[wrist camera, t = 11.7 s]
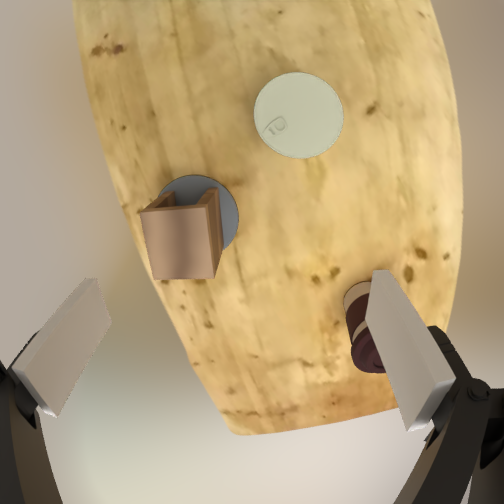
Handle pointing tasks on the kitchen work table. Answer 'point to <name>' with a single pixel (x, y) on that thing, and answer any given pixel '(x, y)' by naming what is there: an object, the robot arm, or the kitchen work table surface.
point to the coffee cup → (361, 330)
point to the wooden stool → (183, 236)
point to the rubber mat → (192, 191)
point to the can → (298, 115)
